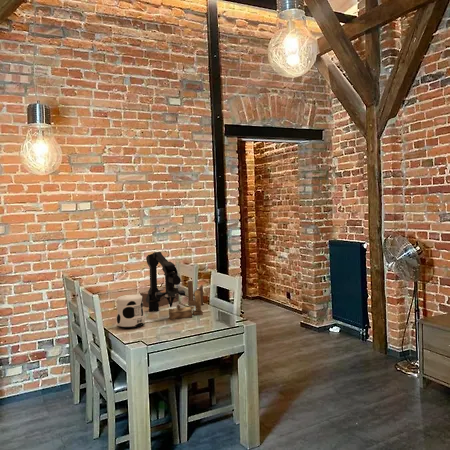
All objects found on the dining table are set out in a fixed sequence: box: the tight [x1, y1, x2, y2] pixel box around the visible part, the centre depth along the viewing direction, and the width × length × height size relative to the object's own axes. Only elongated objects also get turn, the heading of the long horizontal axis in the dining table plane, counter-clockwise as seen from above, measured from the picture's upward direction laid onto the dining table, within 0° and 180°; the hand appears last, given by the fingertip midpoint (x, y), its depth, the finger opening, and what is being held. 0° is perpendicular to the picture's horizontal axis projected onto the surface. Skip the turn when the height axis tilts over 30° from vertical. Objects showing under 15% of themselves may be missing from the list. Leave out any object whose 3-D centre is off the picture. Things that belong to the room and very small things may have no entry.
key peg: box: [194, 290, 202, 310], centre depth 303 cm, size 4×4×14 cm
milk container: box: [115, 294, 146, 329], centre depth 273 cm, size 17×17×18 cm
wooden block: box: [187, 280, 204, 307], centre depth 323 cm, size 4×11×18 cm, turn 104°
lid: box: [168, 304, 195, 313], centre depth 290 cm, size 17×8×3 cm, turn 105°
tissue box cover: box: [139, 286, 180, 308], centre depth 333 cm, size 26×14×10 cm, turn 143°
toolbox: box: [168, 309, 204, 321], centre depth 292 cm, size 22×10×4 cm, turn 105°
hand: (170, 306), depth 288 cm, fingers closed
